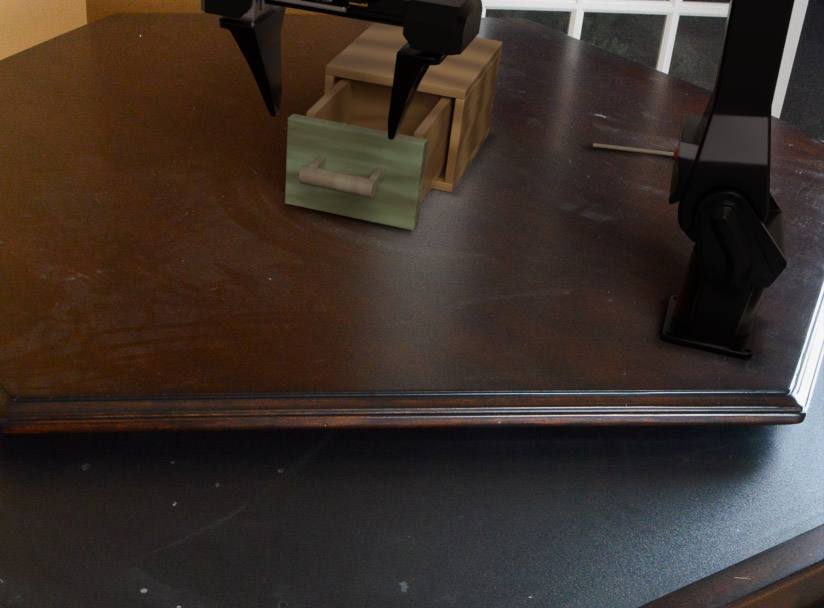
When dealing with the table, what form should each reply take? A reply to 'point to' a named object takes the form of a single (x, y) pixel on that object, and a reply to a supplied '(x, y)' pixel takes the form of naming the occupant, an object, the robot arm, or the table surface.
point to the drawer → (367, 154)
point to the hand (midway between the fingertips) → (333, 126)
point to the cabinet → (432, 86)
